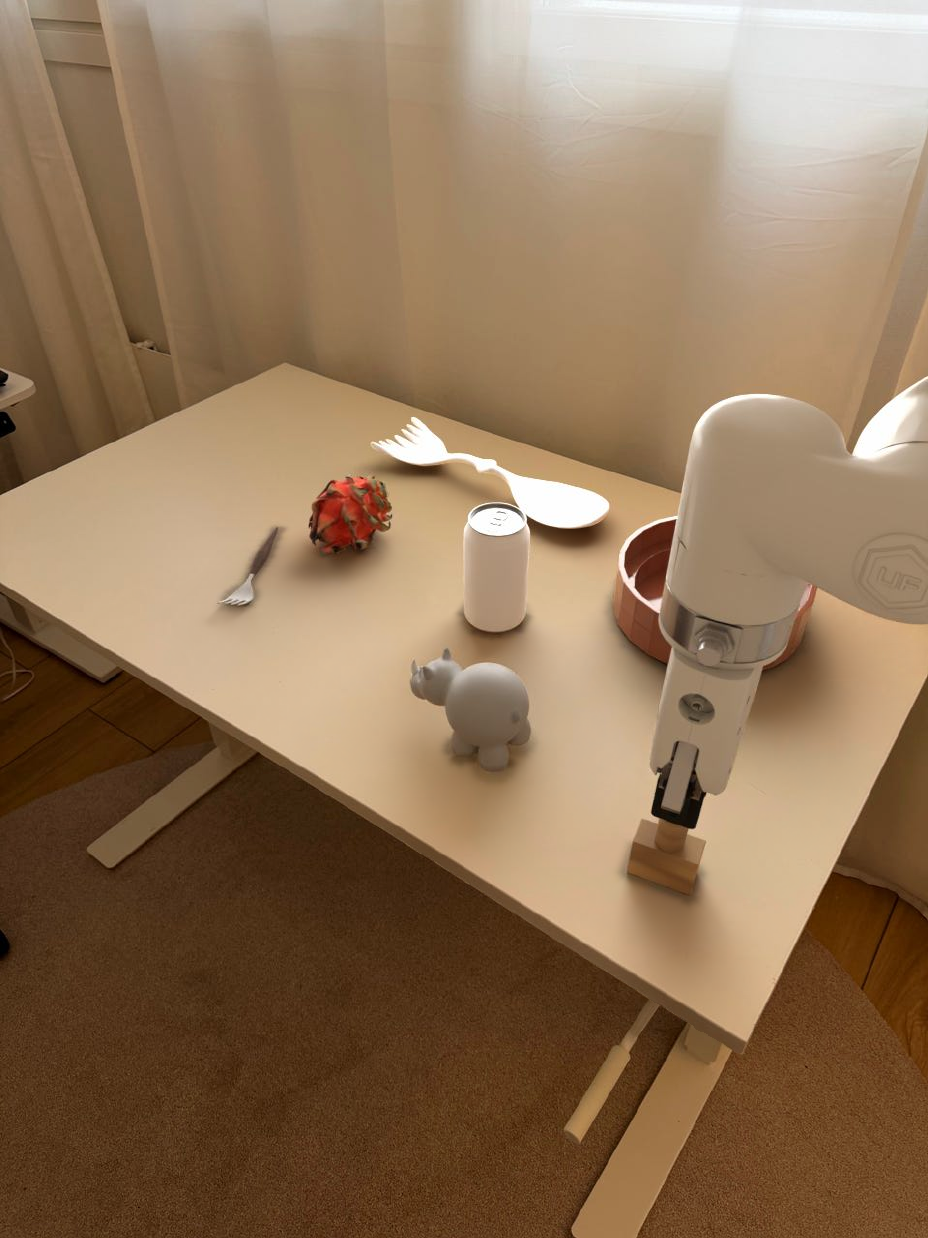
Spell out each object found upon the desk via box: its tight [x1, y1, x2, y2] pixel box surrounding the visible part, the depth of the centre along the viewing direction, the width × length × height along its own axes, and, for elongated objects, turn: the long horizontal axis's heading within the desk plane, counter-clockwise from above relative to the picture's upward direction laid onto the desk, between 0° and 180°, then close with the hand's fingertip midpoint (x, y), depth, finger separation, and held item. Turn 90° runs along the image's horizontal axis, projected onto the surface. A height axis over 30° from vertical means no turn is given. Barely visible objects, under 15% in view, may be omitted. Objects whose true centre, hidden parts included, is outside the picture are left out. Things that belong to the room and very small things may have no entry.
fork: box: [217, 526, 279, 607], centre depth 98 cm, size 3×16×2 cm, turn 171°
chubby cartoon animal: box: [409, 646, 532, 773], centre depth 78 cm, size 7×12×8 cm, turn 51°
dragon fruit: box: [308, 473, 393, 554], centre depth 101 cm, size 8×8×12 cm
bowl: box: [612, 515, 818, 671], centre depth 91 cm, size 19×19×6 cm
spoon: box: [370, 416, 610, 529], centre depth 110 cm, size 9×32×4 cm, turn 53°
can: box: [462, 502, 531, 634], centre depth 89 cm, size 6×6×12 cm
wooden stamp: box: [626, 774, 707, 896], centre depth 65 cm, size 5×2×14 cm, turn 65°
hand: (678, 803), depth 64 cm, fingers closed on wooden stamp, 2 cm apart
